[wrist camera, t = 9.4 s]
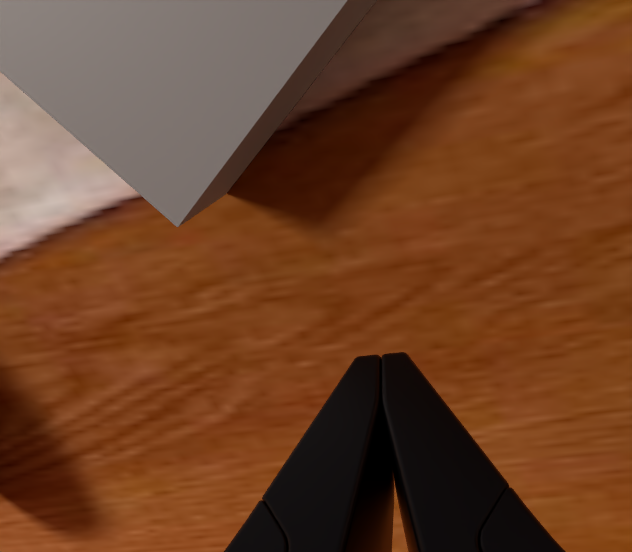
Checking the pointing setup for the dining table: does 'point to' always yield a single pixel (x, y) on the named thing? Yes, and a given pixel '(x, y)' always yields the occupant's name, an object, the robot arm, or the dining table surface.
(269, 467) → the dining table surface
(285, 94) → the deck
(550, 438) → the dining table surface
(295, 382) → the dining table surface
